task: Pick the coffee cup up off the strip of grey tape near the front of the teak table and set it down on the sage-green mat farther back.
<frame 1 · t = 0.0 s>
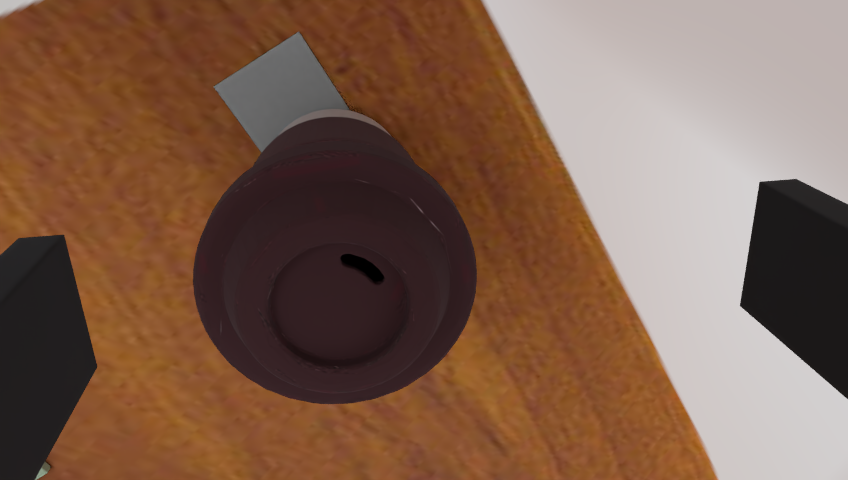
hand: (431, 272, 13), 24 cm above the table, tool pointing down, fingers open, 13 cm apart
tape: (335, 174, 37), on the table
coffee cup: (335, 174, 37), on the table, touching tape
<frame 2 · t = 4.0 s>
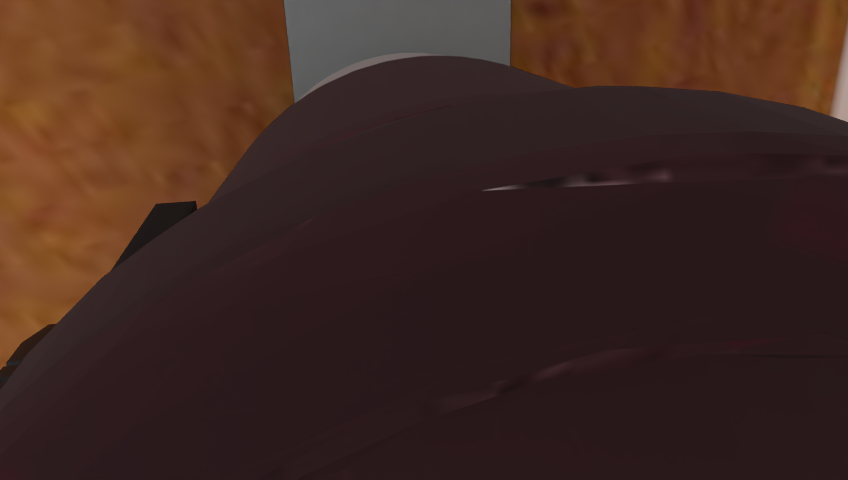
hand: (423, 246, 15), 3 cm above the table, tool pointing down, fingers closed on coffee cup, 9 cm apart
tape: (408, 200, 17), on the table
coffee cup: (408, 198, 17), on the table, touching gripper, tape
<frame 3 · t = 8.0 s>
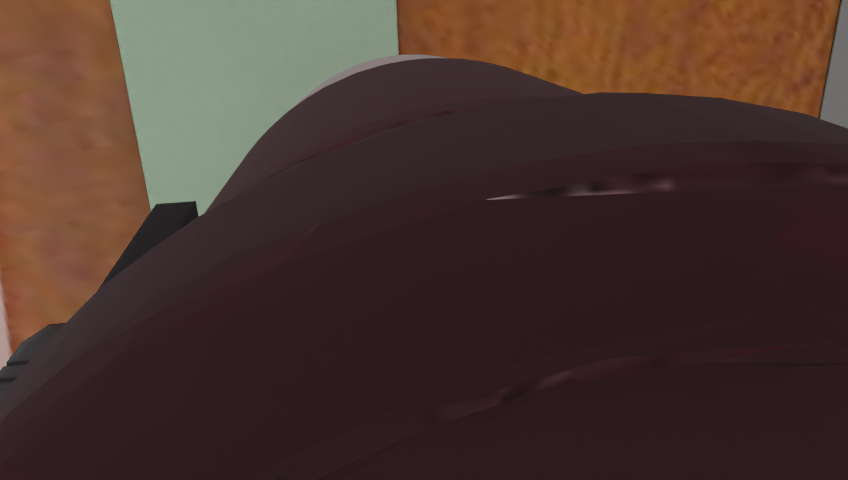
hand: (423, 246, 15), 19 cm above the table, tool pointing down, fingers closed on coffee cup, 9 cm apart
coffee cup: (408, 200, 17), point 16 cm above the table, touching gripper
mat: (267, 86, 32), on the table
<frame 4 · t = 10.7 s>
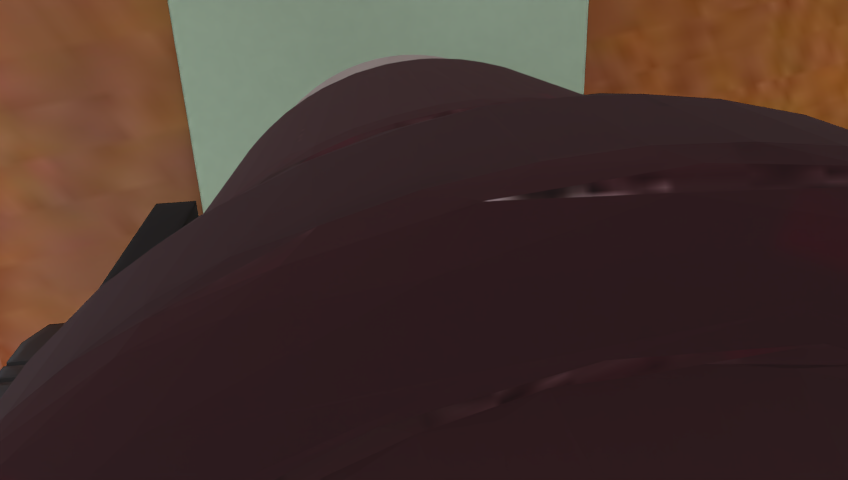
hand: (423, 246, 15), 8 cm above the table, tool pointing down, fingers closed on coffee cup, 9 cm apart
coffee cup: (408, 200, 17), point 5 cm above the table, touching gripper
mat: (392, 144, 22), on the table
when the fingers open (3 cm above the table, at t = 12.4 s): coffee cup stays where it is, resting on mat.
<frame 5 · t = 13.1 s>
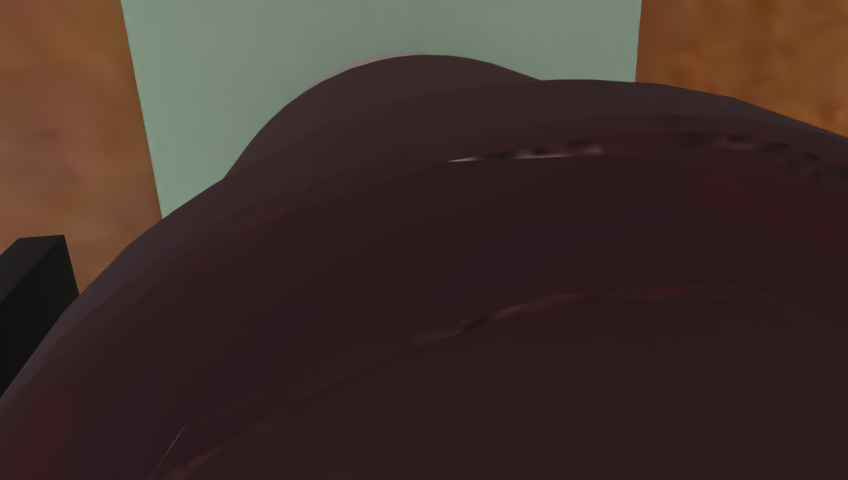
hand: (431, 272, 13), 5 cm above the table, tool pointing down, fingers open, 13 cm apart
coffee cup: (402, 192, 18), resting on mat
mat: (400, 186, 18), on the table
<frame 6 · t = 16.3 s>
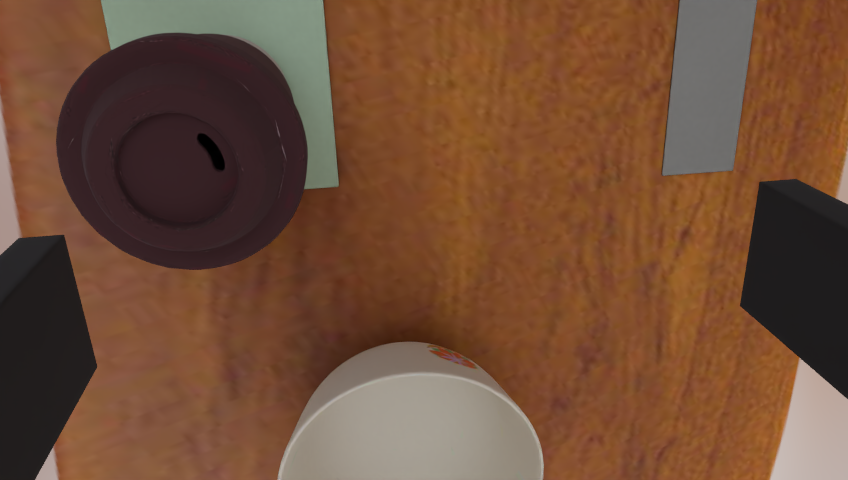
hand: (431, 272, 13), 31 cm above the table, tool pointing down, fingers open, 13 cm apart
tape: (709, 67, 45), on the table
coffee cup: (228, 96, 41), resting on mat
bowl: (398, 389, 51), on the table
mat: (228, 95, 42), on the table
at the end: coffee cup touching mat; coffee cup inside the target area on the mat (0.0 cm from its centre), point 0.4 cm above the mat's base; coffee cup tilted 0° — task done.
